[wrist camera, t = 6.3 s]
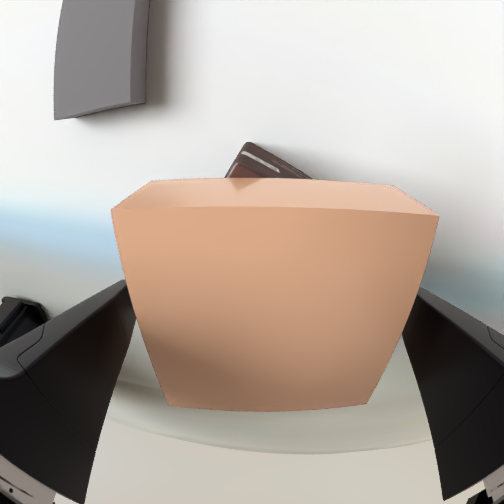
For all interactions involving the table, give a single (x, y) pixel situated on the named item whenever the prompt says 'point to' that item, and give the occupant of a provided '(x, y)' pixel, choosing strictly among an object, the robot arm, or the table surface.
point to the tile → (271, 287)
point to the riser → (100, 56)
